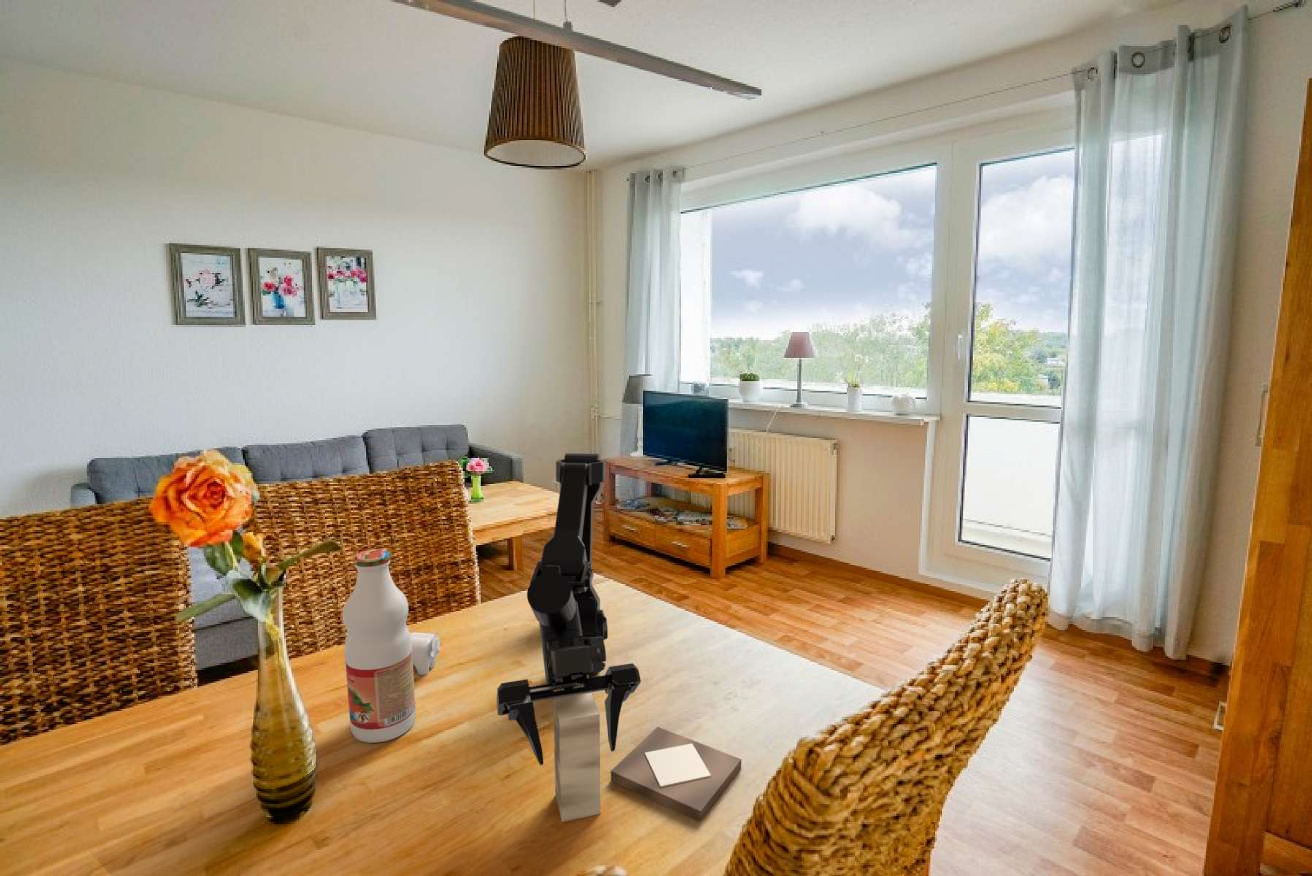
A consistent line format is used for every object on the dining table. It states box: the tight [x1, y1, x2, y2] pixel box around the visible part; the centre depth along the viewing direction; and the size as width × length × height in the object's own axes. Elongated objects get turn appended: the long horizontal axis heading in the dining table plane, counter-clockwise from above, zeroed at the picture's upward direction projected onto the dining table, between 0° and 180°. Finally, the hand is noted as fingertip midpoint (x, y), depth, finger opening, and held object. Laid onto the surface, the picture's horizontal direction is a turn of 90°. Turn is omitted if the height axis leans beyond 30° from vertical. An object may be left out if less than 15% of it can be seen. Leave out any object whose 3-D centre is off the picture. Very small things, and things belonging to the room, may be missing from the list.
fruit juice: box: [342, 548, 417, 744], centre depth 101 cm, size 9×9×28 cm
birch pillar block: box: [552, 692, 602, 823], centre depth 85 cm, size 5×5×14 cm
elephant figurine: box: [410, 632, 443, 676], centre depth 120 cm, size 8×10×7 cm
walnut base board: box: [610, 726, 742, 822], centre depth 92 cm, size 14×12×2 cm
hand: (577, 757), depth 84 cm, fingers open, 9 cm apart
